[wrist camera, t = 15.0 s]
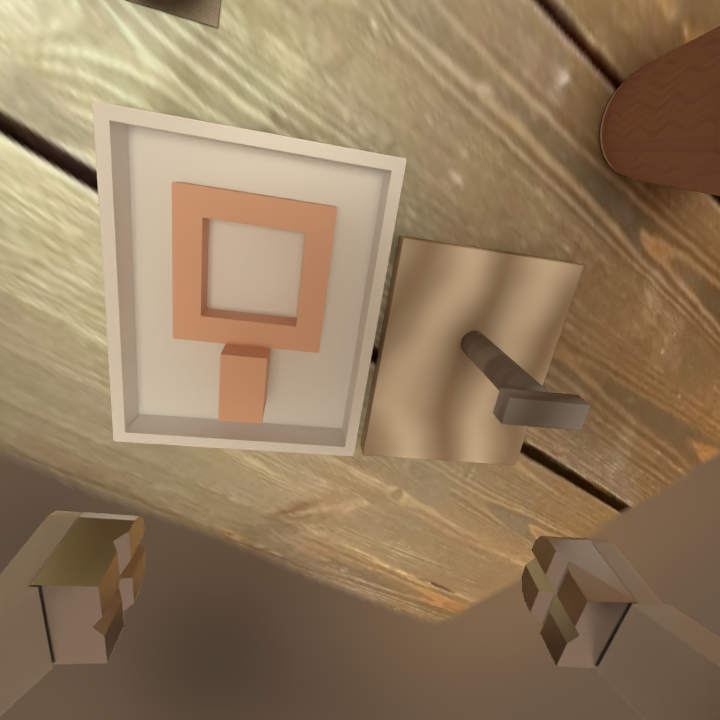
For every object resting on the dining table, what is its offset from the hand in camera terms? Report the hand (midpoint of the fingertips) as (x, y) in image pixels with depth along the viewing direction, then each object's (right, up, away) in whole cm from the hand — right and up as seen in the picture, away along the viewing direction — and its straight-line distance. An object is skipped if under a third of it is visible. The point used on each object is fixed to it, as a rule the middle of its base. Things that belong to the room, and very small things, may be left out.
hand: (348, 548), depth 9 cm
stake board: (+9, +4, +27) cm, 28 cm away
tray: (-8, +8, +23) cm, 26 cm away
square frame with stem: (-8, +8, +22) cm, 25 cm away
